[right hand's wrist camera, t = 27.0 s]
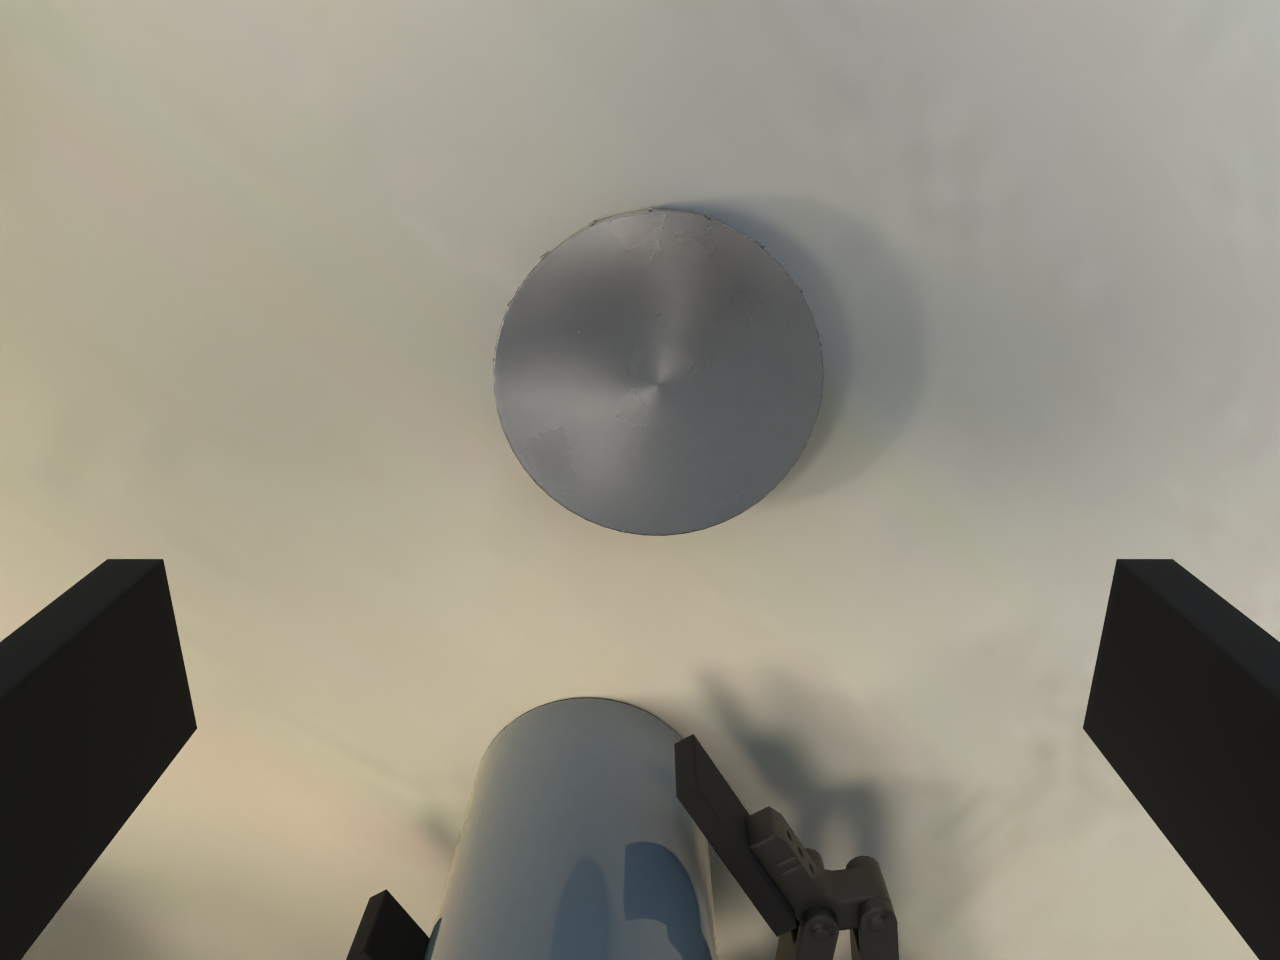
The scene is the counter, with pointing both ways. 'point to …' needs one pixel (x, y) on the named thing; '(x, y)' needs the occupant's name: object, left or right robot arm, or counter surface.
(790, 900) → the left robot arm
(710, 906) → the jar
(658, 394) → the lid
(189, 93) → the counter surface
